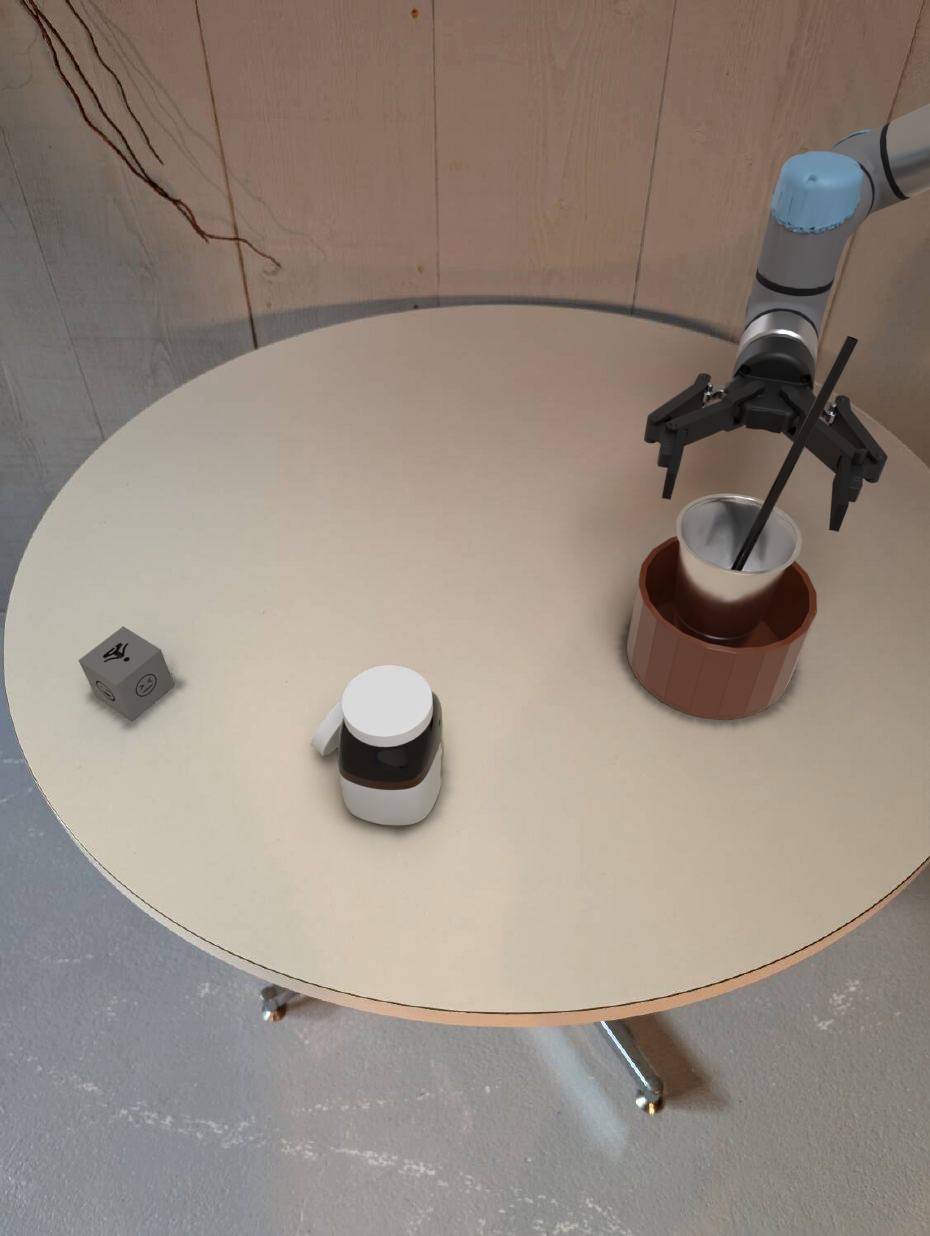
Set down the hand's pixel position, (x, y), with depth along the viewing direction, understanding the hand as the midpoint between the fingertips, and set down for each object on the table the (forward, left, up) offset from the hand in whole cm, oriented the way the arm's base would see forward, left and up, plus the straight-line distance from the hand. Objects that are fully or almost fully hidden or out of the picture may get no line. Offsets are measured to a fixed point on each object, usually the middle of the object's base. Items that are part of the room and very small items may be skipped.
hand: (751, 502), depth 74 cm
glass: (-1, +1, -17) cm, 17 cm away
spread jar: (-2, +34, -18) cm, 38 cm away
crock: (-1, +1, -17) cm, 18 cm away
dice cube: (+15, +52, -18) cm, 57 cm away
